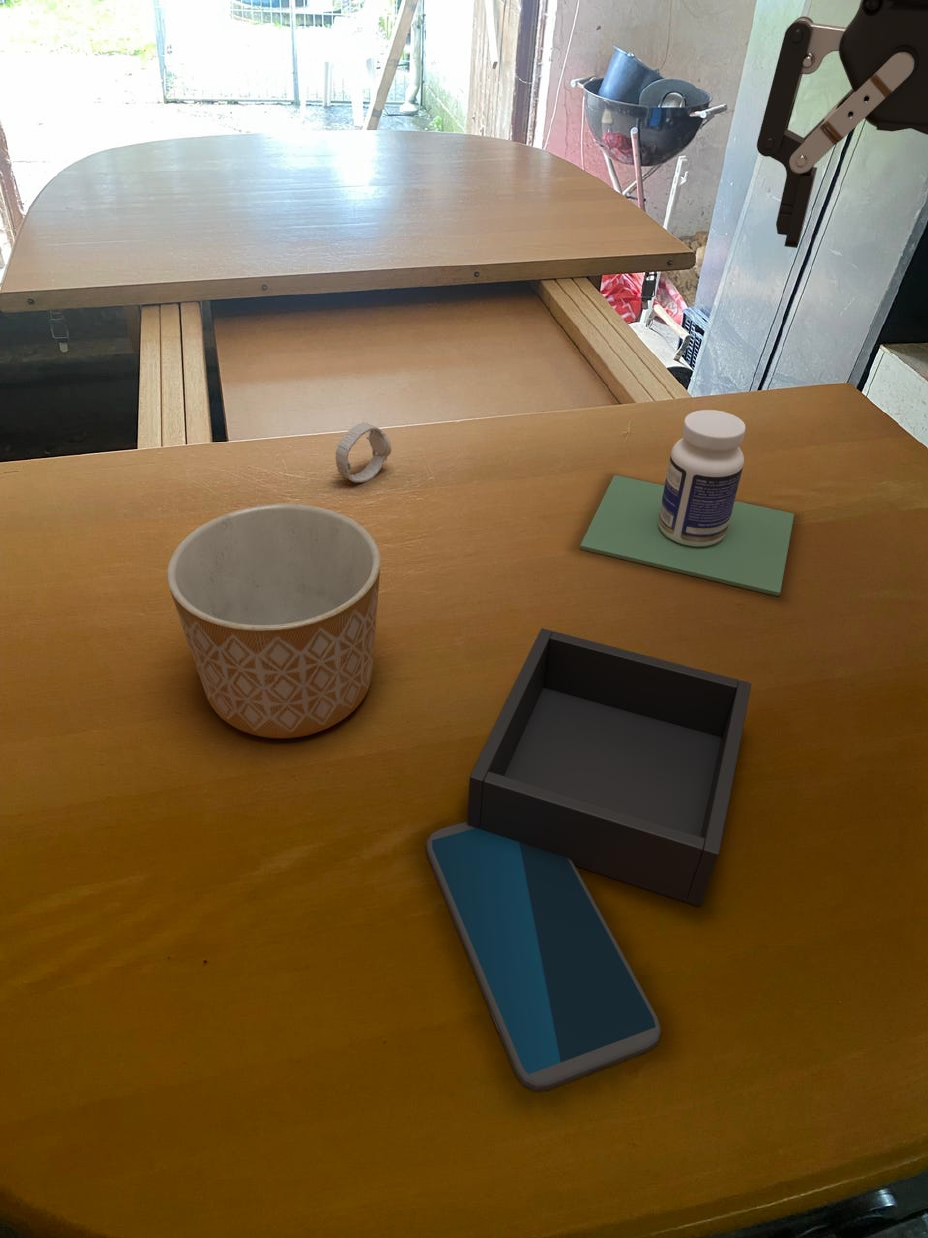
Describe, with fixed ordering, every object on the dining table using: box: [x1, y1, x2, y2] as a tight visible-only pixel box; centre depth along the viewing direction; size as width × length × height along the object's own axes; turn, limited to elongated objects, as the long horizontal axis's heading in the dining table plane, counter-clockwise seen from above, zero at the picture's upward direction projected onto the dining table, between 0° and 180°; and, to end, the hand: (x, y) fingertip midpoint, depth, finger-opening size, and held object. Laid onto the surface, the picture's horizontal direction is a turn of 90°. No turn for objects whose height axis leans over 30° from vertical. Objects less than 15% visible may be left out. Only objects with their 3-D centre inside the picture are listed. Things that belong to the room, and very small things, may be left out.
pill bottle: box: [658, 409, 747, 547], centre depth 74 cm, size 6×6×10 cm
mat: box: [579, 474, 795, 597], centre depth 77 cm, size 16×12×1 cm
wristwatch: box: [335, 422, 392, 483], centre depth 81 cm, size 3×5×5 cm, turn 139°
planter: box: [166, 503, 382, 739], centre depth 59 cm, size 13×13×10 cm
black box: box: [466, 627, 753, 908], centre depth 55 cm, size 14×14×5 cm
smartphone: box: [426, 821, 662, 1092], centre depth 48 cm, size 8×15×1 cm, turn 20°
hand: (873, 254), depth 50 cm, fingers open, 8 cm apart
